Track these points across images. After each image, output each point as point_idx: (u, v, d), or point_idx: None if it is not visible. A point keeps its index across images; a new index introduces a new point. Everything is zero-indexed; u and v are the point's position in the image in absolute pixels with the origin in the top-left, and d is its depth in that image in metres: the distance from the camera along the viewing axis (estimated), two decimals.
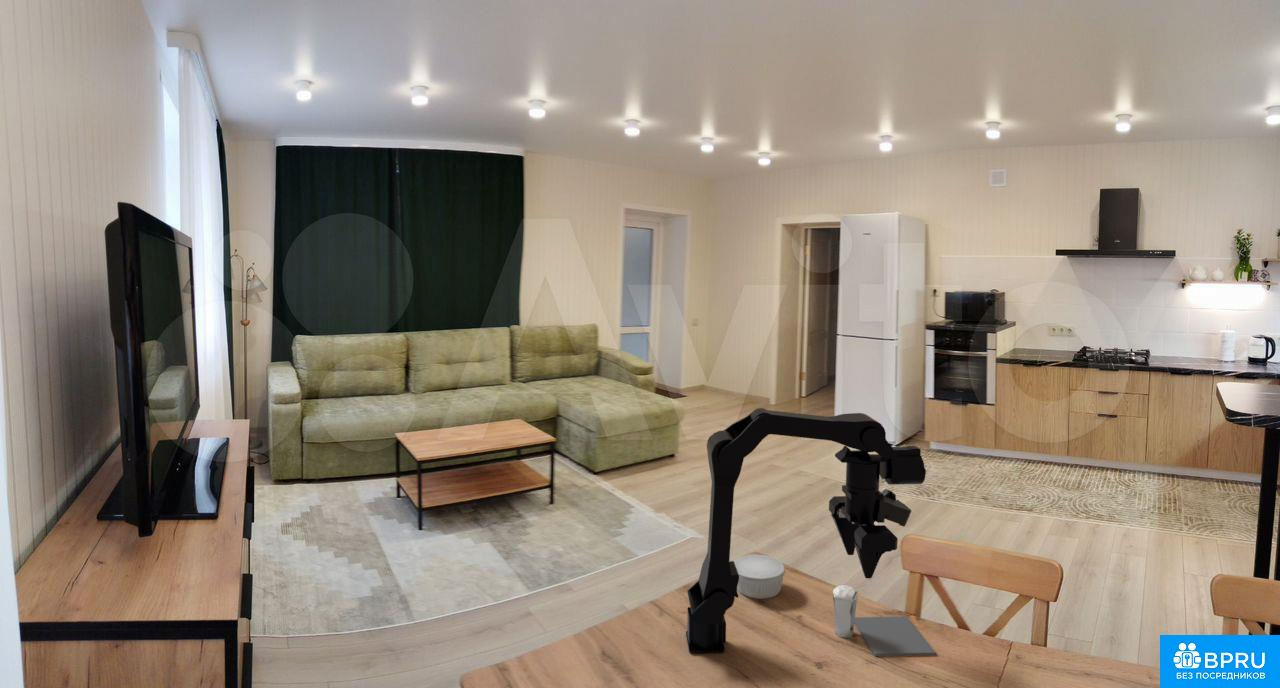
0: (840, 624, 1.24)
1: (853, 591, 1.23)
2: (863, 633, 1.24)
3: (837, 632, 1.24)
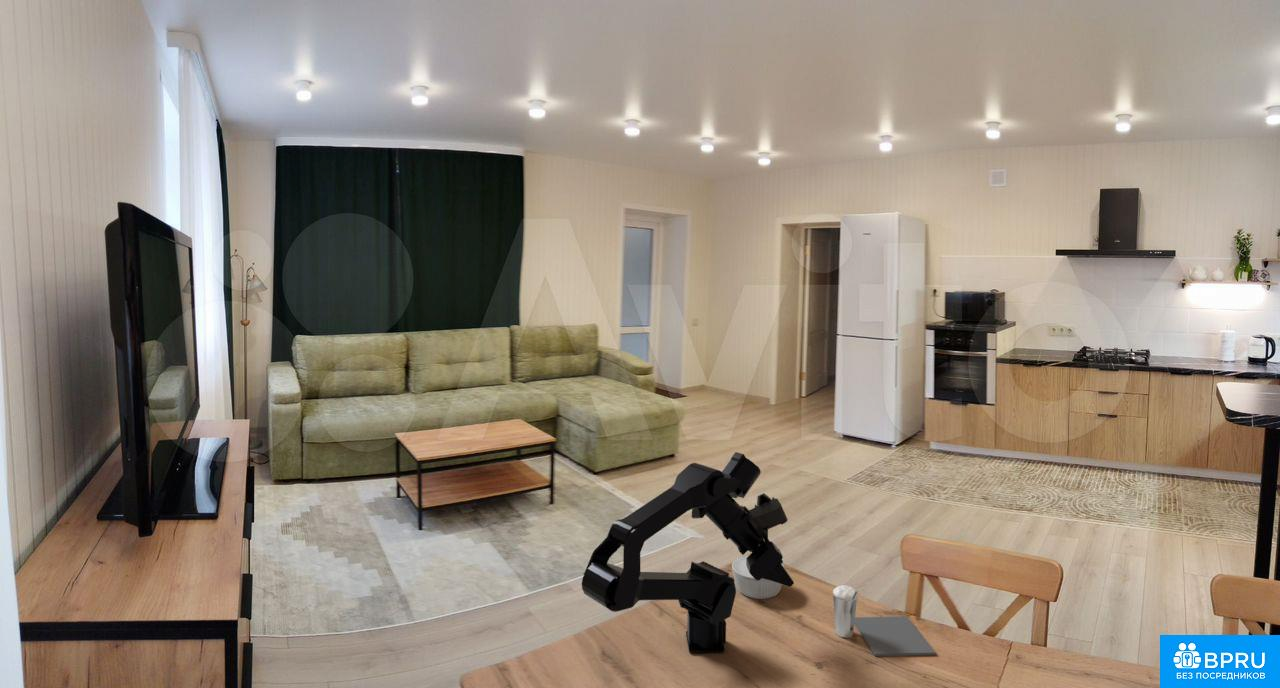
0: (840, 624, 1.24)
1: (853, 591, 1.23)
2: (863, 633, 1.24)
3: (837, 632, 1.24)
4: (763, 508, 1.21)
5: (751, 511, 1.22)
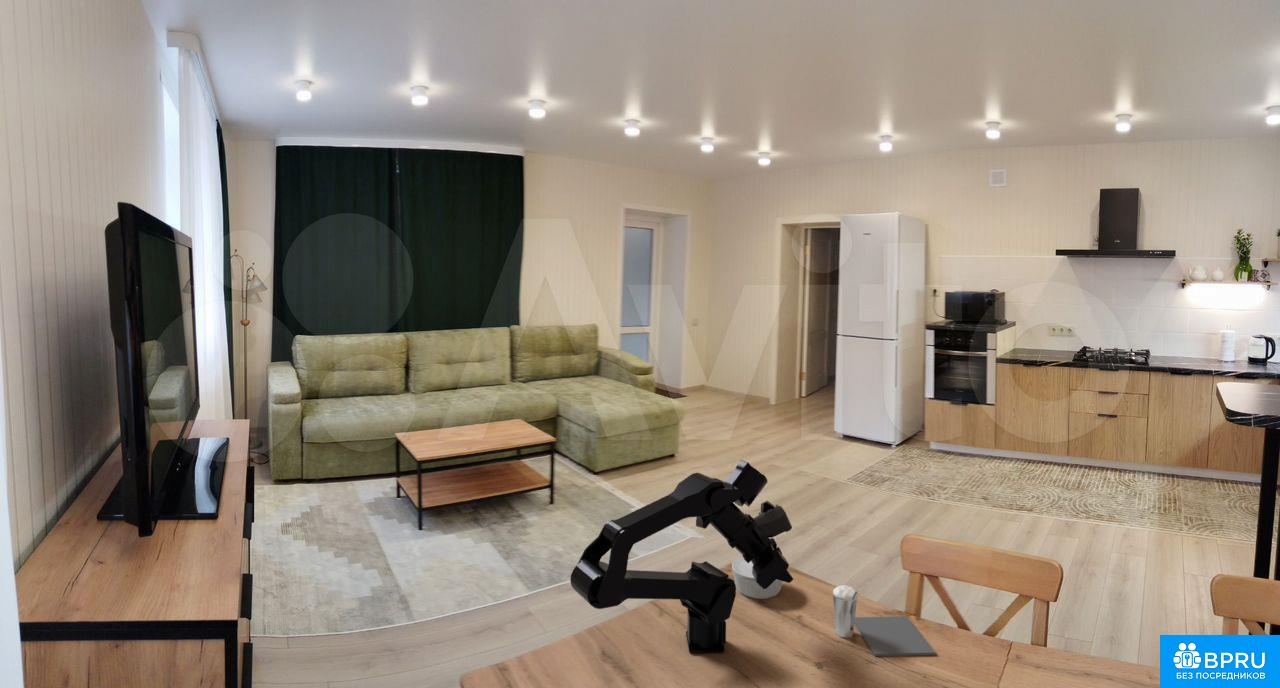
0: (840, 624, 1.24)
1: (853, 591, 1.23)
2: (863, 633, 1.24)
3: (837, 632, 1.24)
4: (767, 516, 1.22)
5: (755, 519, 1.23)
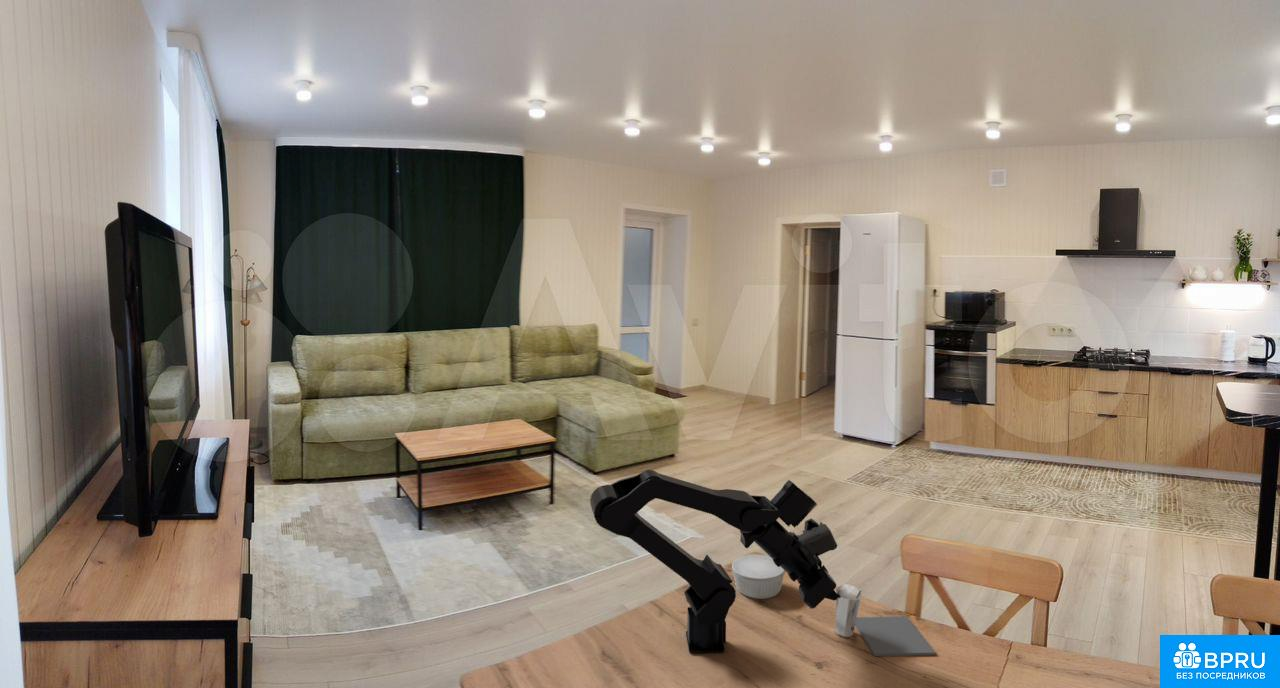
0: (841, 622, 1.24)
1: (857, 591, 1.24)
2: (863, 633, 1.24)
3: (837, 631, 1.24)
4: (812, 534, 1.22)
5: (800, 537, 1.23)
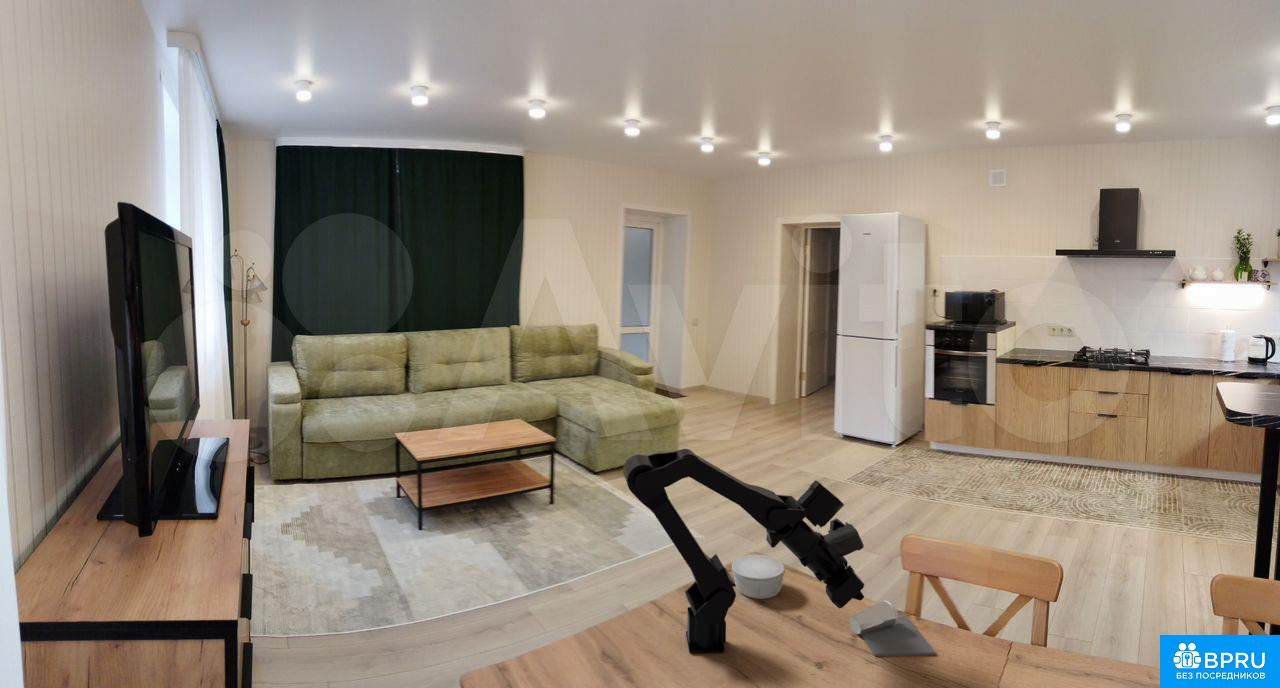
0: (870, 621, 1.24)
1: None
2: (863, 633, 1.24)
3: (861, 622, 1.23)
4: (838, 534, 1.22)
5: (826, 537, 1.23)
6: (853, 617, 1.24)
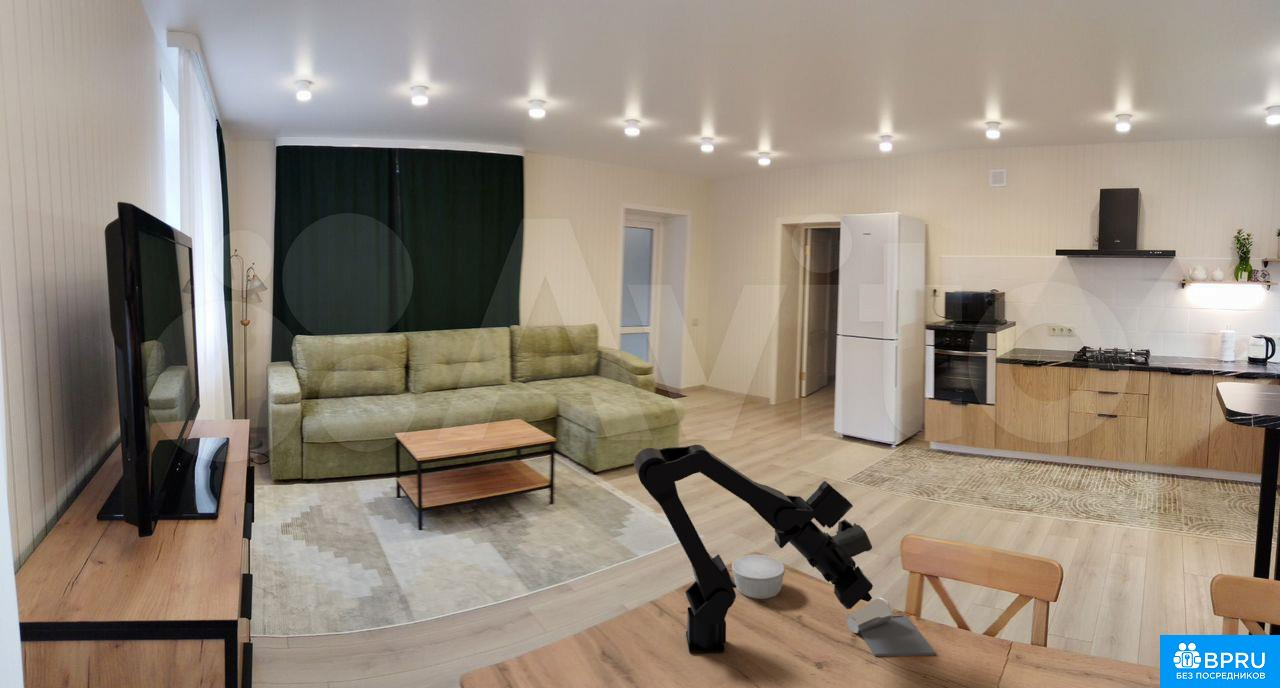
0: (865, 616, 1.25)
1: None
2: (863, 633, 1.24)
3: (855, 617, 1.24)
4: (847, 535, 1.22)
5: (834, 538, 1.23)
6: (848, 617, 1.26)
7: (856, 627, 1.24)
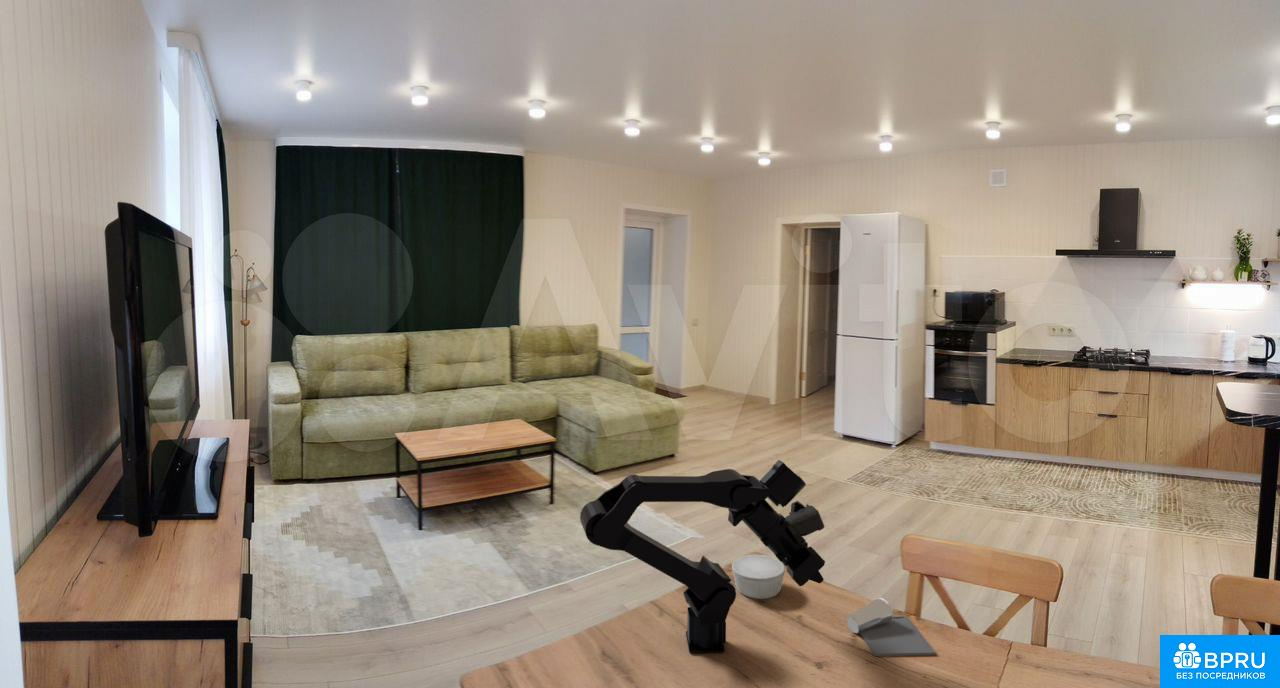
0: (865, 616, 1.25)
1: None
2: (863, 633, 1.24)
3: (856, 617, 1.24)
4: (799, 515, 1.22)
5: (787, 518, 1.23)
6: (848, 617, 1.26)
7: (856, 627, 1.24)
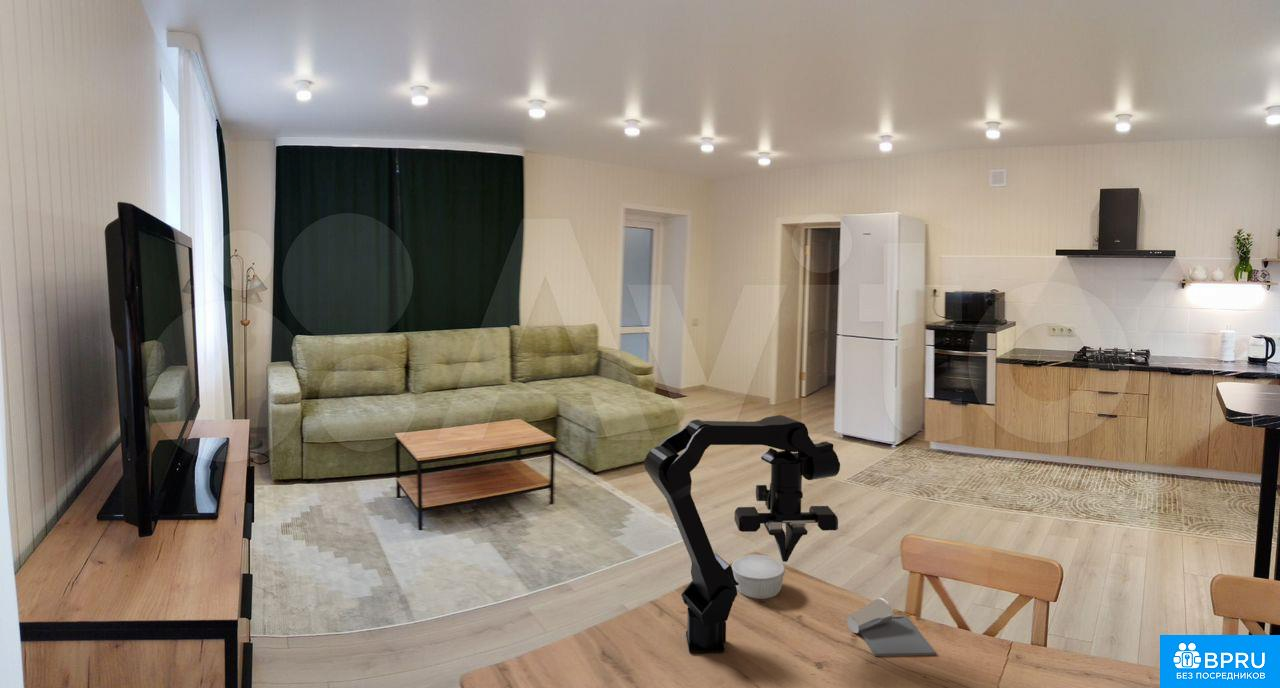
0: (865, 616, 1.25)
1: None
2: (863, 633, 1.24)
3: (856, 617, 1.24)
4: None
5: None
6: (848, 617, 1.26)
7: (856, 627, 1.24)
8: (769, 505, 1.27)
